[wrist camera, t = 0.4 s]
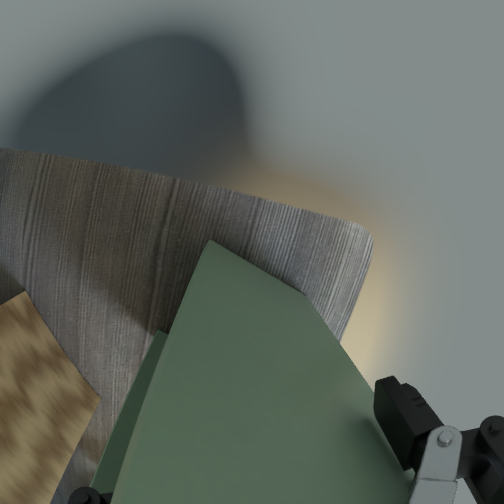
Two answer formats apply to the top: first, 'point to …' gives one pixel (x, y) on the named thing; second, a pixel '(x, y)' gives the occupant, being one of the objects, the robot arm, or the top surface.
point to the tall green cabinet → (248, 405)
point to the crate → (37, 405)
